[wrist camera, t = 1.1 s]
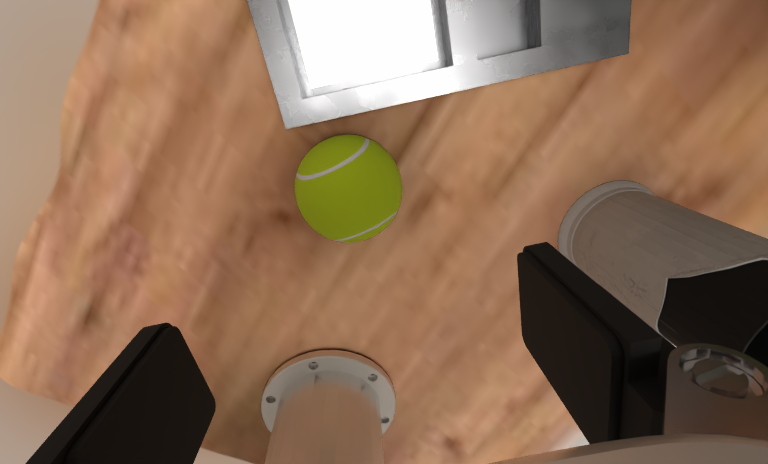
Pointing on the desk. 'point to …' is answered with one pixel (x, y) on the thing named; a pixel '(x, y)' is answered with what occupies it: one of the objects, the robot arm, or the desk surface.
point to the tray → (422, 47)
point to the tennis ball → (348, 188)
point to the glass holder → (672, 266)
